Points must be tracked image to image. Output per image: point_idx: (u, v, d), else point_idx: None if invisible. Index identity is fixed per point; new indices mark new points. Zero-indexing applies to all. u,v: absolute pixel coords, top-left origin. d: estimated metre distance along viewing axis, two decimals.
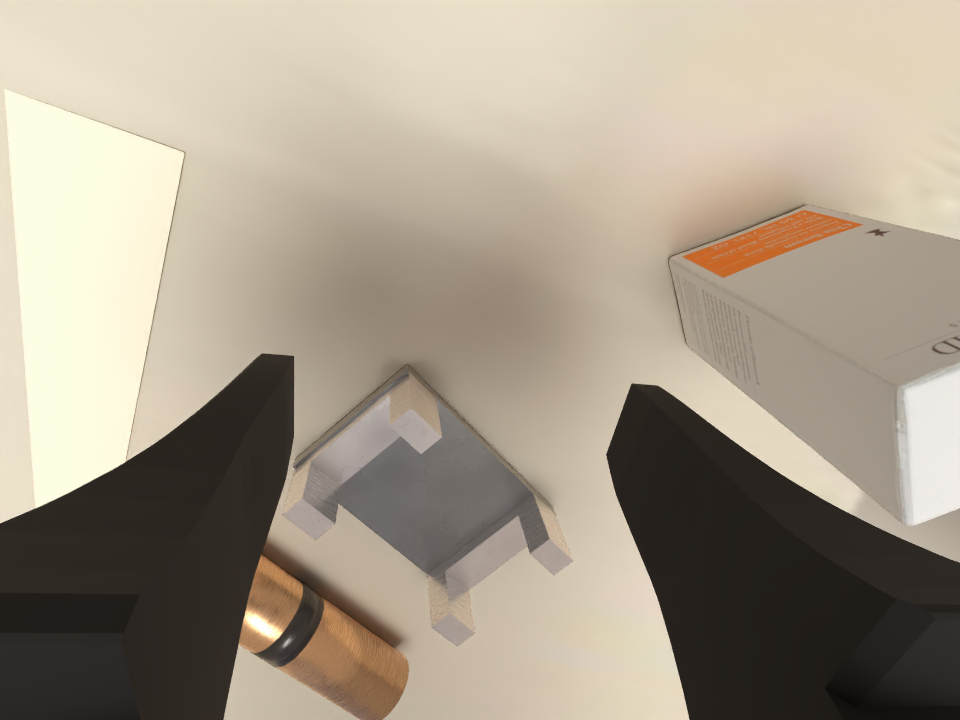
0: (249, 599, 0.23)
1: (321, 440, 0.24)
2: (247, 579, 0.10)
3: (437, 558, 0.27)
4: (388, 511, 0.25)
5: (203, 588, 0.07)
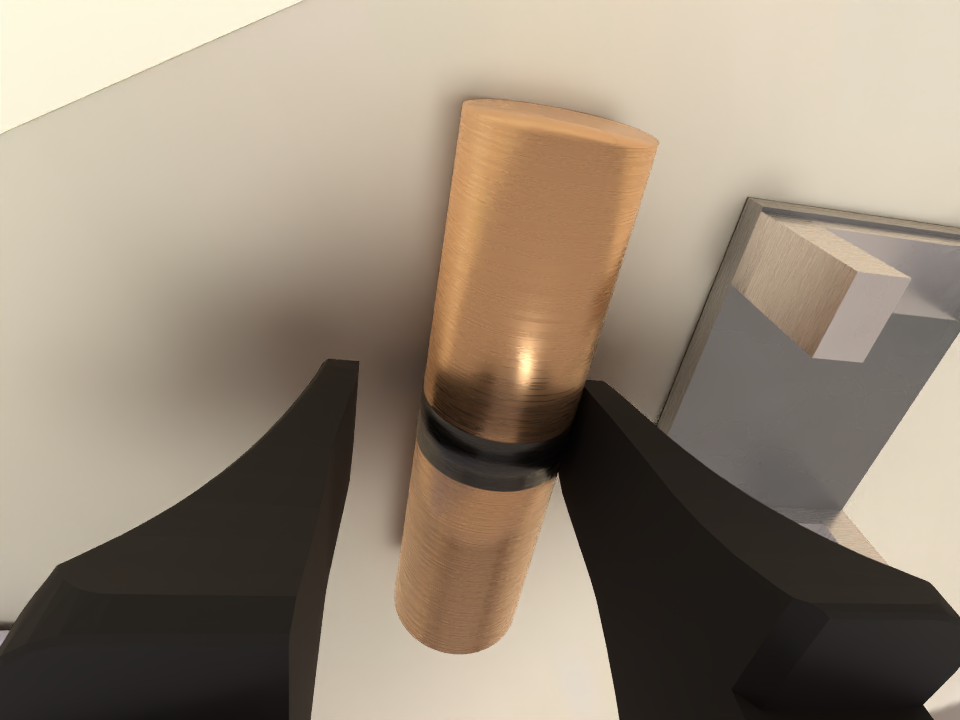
0: None
1: (825, 212, 0.12)
2: (325, 580, 0.10)
3: None
4: (733, 388, 0.14)
5: (313, 590, 0.07)
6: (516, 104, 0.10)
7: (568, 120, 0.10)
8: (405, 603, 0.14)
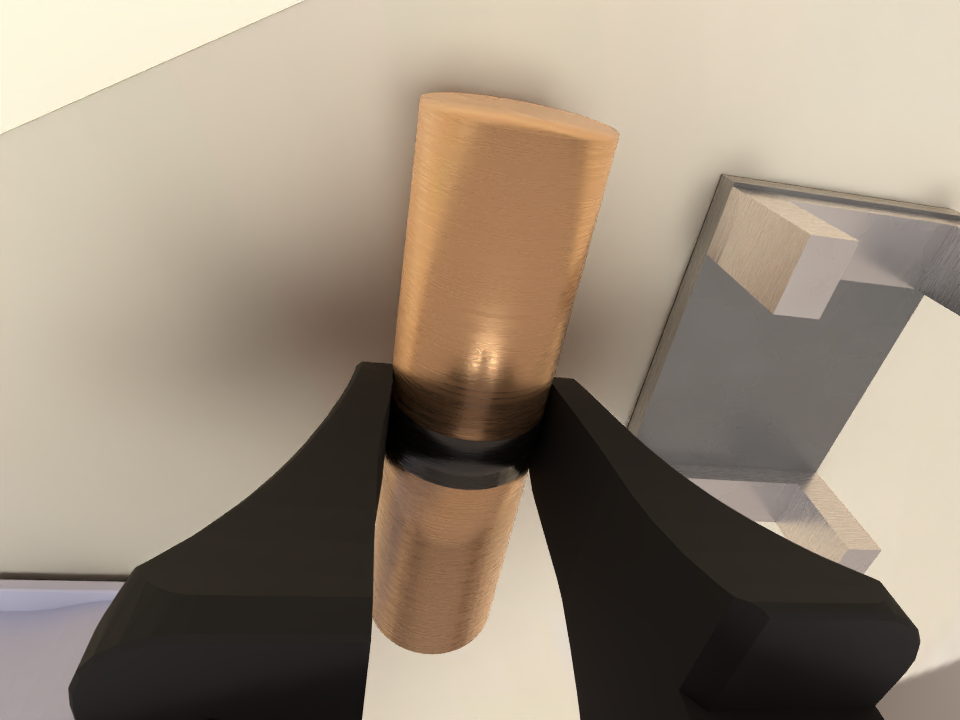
0: (549, 341, 0.10)
1: (792, 188, 0.13)
2: None
3: (659, 453, 0.17)
4: (710, 353, 0.15)
5: None
6: (507, 101, 0.10)
7: (536, 115, 0.10)
8: None
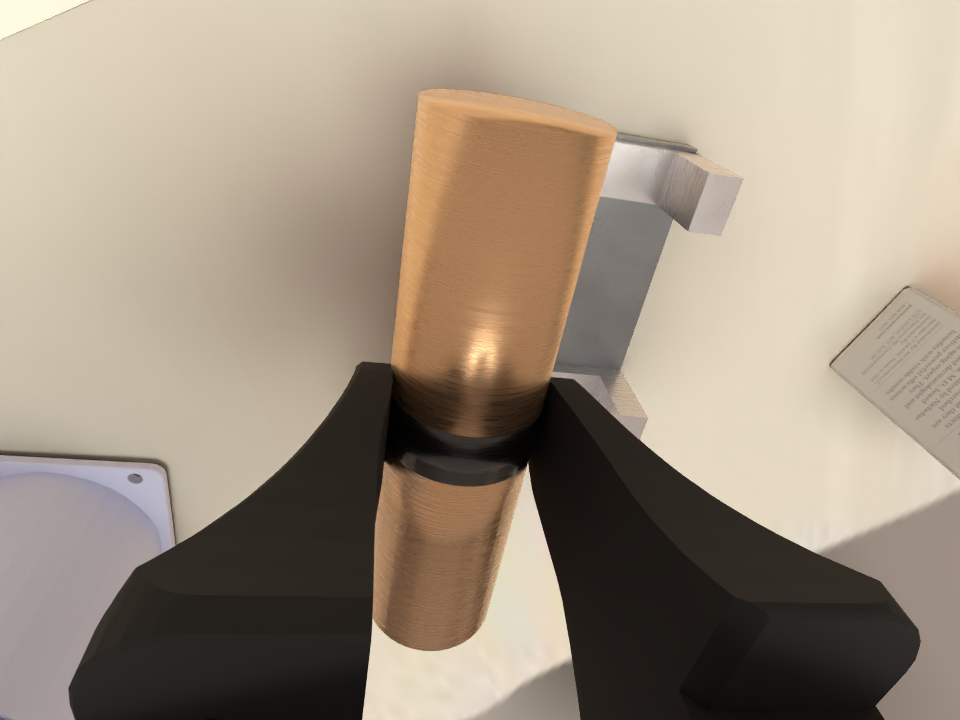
0: (548, 338, 0.10)
1: None
2: None
3: None
4: None
5: None
6: (505, 98, 0.10)
7: (534, 112, 0.10)
8: None
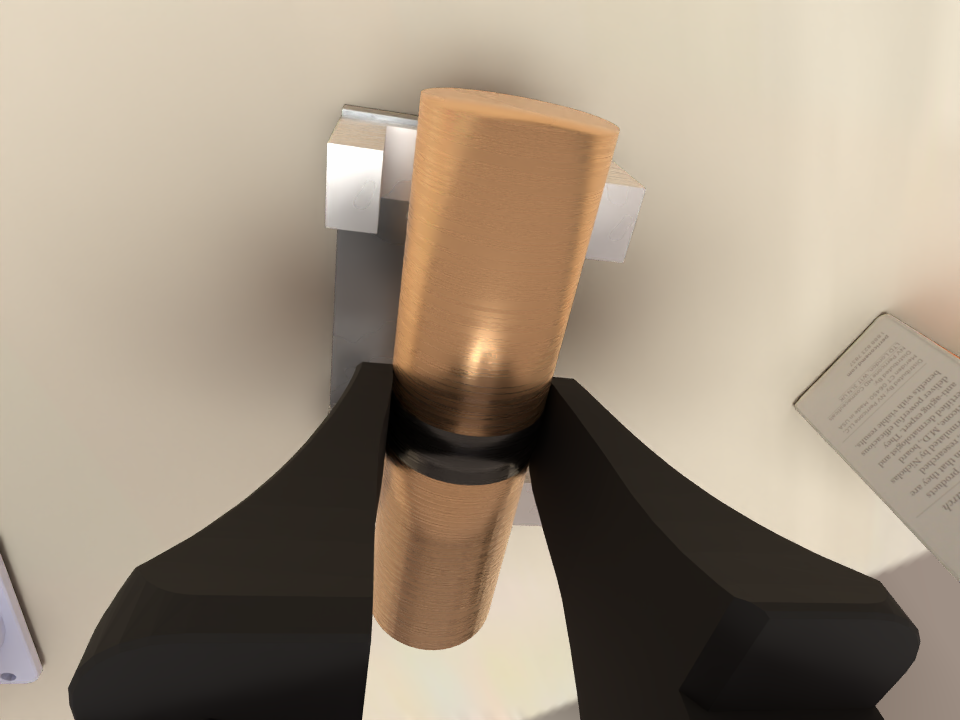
0: (551, 336, 0.10)
1: (412, 118, 0.14)
2: None
3: None
4: (379, 289, 0.16)
5: None
6: (506, 96, 0.10)
7: (536, 110, 0.10)
8: None
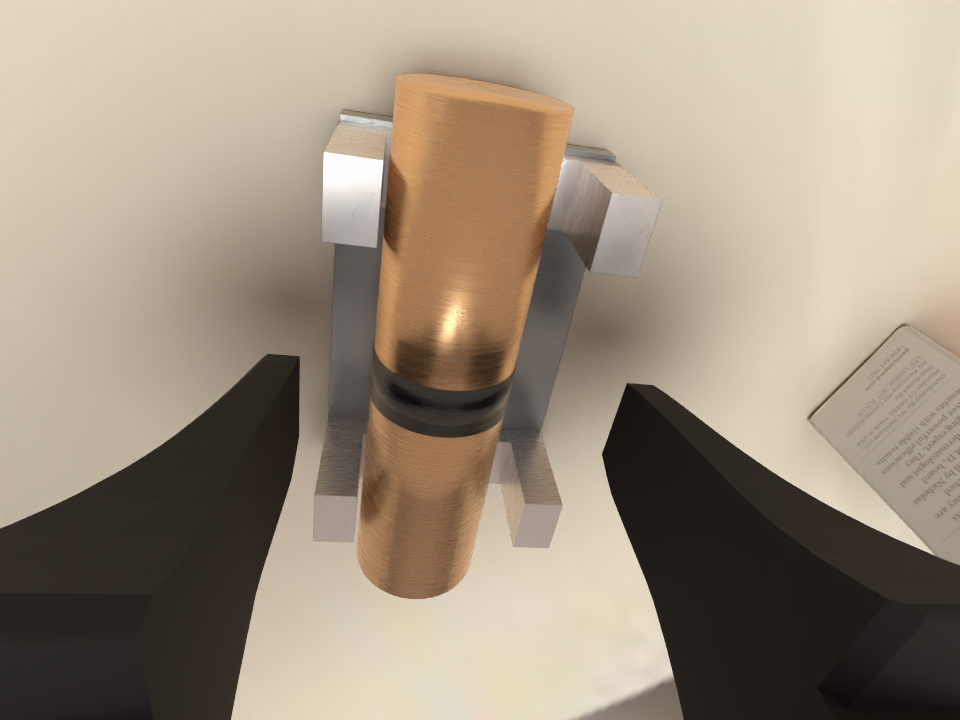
0: (499, 301, 0.11)
1: None
2: (254, 579, 0.10)
3: (362, 410, 0.17)
4: None
5: (213, 588, 0.07)
6: (492, 85, 0.12)
7: (502, 94, 0.11)
8: None
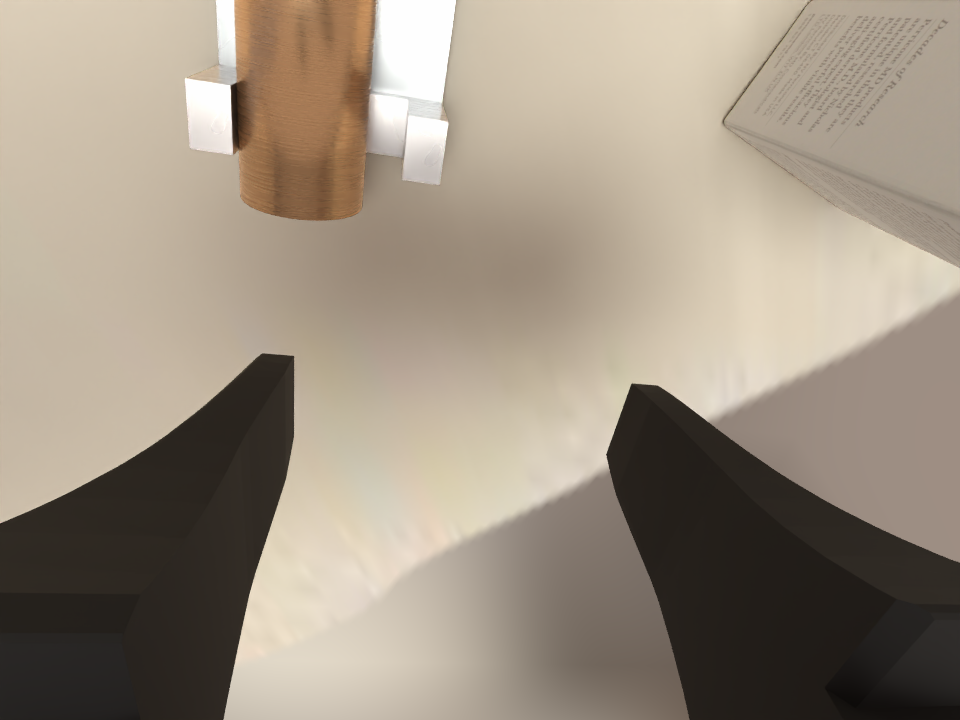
0: None
1: None
2: (246, 579, 0.10)
3: None
4: None
5: (203, 588, 0.07)
6: None
7: None
8: None
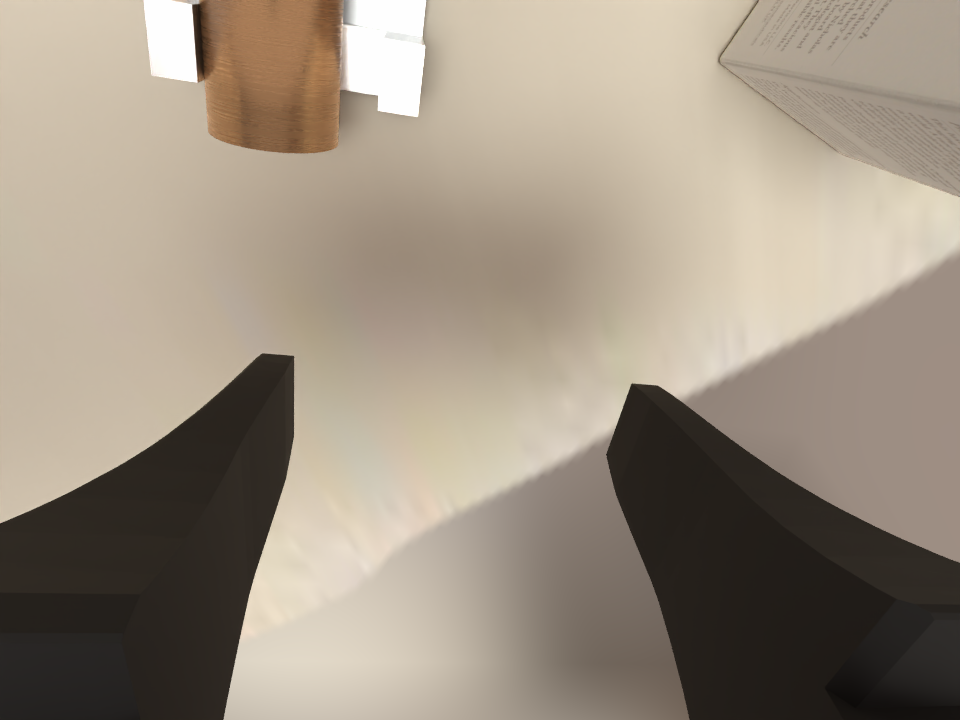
0: None
1: None
2: (247, 579, 0.10)
3: None
4: None
5: (203, 588, 0.07)
6: None
7: None
8: None
